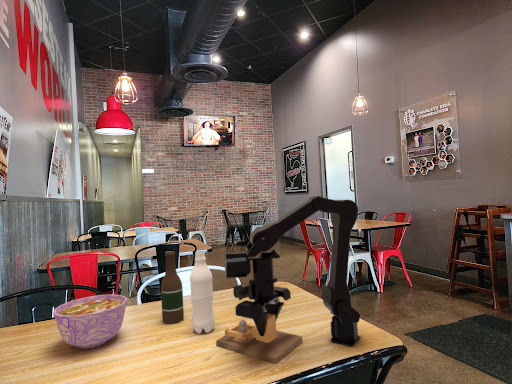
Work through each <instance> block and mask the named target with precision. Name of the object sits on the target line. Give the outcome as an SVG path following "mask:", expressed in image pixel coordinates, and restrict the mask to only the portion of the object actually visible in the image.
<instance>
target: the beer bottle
mask: <svg viewBox="0 0 512 384" xmlns="http://www.w3.org/2000/svg"><path fill="white" fill-rule="evenodd" d="M164 256H165V272H164V277H163V278H162V279H161V284H160V292H161V293H160V298H161V315H162V316H161V317H162V318H161V319H162V324H165V325H173V324H175V325H176V324H179V323H181V322H183V321H184V319H185V317H184V315H185V313H184V310H185V309H184V292H183V291H184V290H183V282H182V281H181V280H182V279H181V277H180V276H179V274H178V273H177V267H176V266H177V265H176V257H175V256H176V252H175V251H174V250H171V251H170V250H169V251H165V253H164Z"/></svg>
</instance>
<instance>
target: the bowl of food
mask: <svg viewBox="0 0 512 384" xmlns="http://www.w3.org/2000/svg"><path fill="white" fill-rule="evenodd" d="M127 302H128V299H127V297H126V296H124V295H121V294H100V295H92V296H91V295H90V296H86V297H82V298H77V299H74V300H71V301H68V302H65V303H62V304H60V305H59V306H57V307H55V308H54V310H53V312H52V314H53V317H54V319H55V320H54V321H55V322H56V325H57V328H58V331H59V334H60V336H61V338H62V340H63V341H64V342H65V343H66V344H67V345H68V346H71V347H77V348H79V349H93V348H96V347H99V346H102V345H104V344H106V343H107V342H108V341H109V340H110V339H112V338H113V337H115V336H116V335H117V333H118V332H119V331H120V329H121V328H122V326H123V322H124V318H125V313H126V307H127ZM107 340H108V341H107Z"/></svg>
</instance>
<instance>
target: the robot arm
mask: <svg viewBox="0 0 512 384" xmlns="http://www.w3.org/2000/svg"><path fill="white" fill-rule="evenodd" d="M318 211H319V212H322V213H326V214H329V216H330V223H331V225H332V229H333V234H332V235H333V236H332V237H333V238H332V249H331V250H332V251H331V261H330V262H331V265H330V276H329V281H328V282H327V284H322V285H321V289H322V292H321V293H322V295H320V299H322V301H323V302H322V303H323V305H324V306H325V308H326V309H327V310H328V311H329V313H330V314H331V315H333V316H332V317H331V321H330V336H331V338H330V342H333V343H335V344H336V343H337V344H341V345H344V346H350V347H354V346H355V344H356V343H357V342H358V341H359V340H360V339H361V336H360V335H359V332H358V331H359V330H358V323H360V320H361V314H360V313H359V312H358V311H357V310H356V309H355V308H354V307H353V306H352V300H351V292H350V289H349V285H348V274H349V273H348V272H349V271H348V270H349V260H350V259H349V257H350V245H351V233H352V230H353V229H354V227H355V224H356V222H357V218H358V213H359V206H358V205H357V203H356V202H355V201H354V200H351V199H330V198H325V197H322V196H320V195H317V196H315V195H314V196H312V195H311V197H309V198H307V200H305V201H304V202H302V203H301V204H300V205H298V206H296V207H295V208H293V209H292V210H290V211H289V212H287V213H286V214H285V215H283V216H282V217H280V218H278V219H277V220H275V221H273V222H270V223H267V224H264V225H263V226H259V227H257V228H255V229H254V230H253V231H251V232H250V235H249V242H248V243H247V245H246V247H244V249H243V251H242V252H241V251H239V252H225V255H224V256H225V258H224V262H225V263H224V274H225V276H224V277H225V279H226V280H229V279H238V278H239V279H240V278H247V277H248V275H250V274H251V271H252V278H251V279H249V281H248V284H246V285H243V284H238V285H234V286H233V290H232V291H233V296H234V298H235V299H238V300H239V301H242V300H243V299H247V298H248V299H249V300H243V301H242V302H240V303H237V304H236V306H235V316H237V317H240V318H241V317H242V318H247V319H252V320H253V322H254V325H256V327H257V330H258V332H259V335H260V336H264V333H265V329H266V323H267V318H268V314H273V315H275V319H276V321H277V320H278V318H279V315H280V313H281V310H282V308H283V306H285V302H283V301H286V302H287V301H289V300H290V299H291V298H292V296H291V294H292V293H291V291H290V290H289V288H287V287H281V286H280V287H279V286H275V283H278V278H277V277H274V276H275V274H274V271H275V270H274V259H280V258H281V255H280V254H278V252H276V250H275V248H273V247H274V246H275V245H276V244H277V243H278V242H279V241H280V240H281V238H282V237H283V236H284V235H285V234H286V233H287V232H289V231H291V230H292V229H293V228H296V227H297V226H298V225H299V224H301V223H302V222H304V221H305V220H307V219H309V217H311V216H312V215H314V214H316V213H317V212H318ZM280 298H282V299H283V301H281V300H280ZM254 299H255V302H254ZM252 300H253V301H252ZM264 307H265V309H266V310H265V309H264Z"/></svg>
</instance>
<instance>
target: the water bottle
mask: <svg viewBox="0 0 512 384" xmlns="http://www.w3.org/2000/svg"><path fill="white" fill-rule="evenodd" d="M194 254H195V255H194V257H195V258H194V261H195V263H194V265H193V268H192V271H191V273H190V276H189V282H190V301H191V305H192V314H191V315H192V316H191V325H192V328H193V330H194V332H195V333H196V334H202V332H203V330H204V332H205V333H206V334H207V333H210V332H211V331H212V330H213V328H214V327H215V323H216V320H215V319H216V317H215V314H214V310H213V301H214V292H213V291H214V290H213V274H212V271H211V270H210V268H209V265H208V264H207V262H206V260H207V258H206V256H205V255H206V254H205V251H203V250H202V251H201V250H200V251H199V250H198V251H195V253H194Z"/></svg>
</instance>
